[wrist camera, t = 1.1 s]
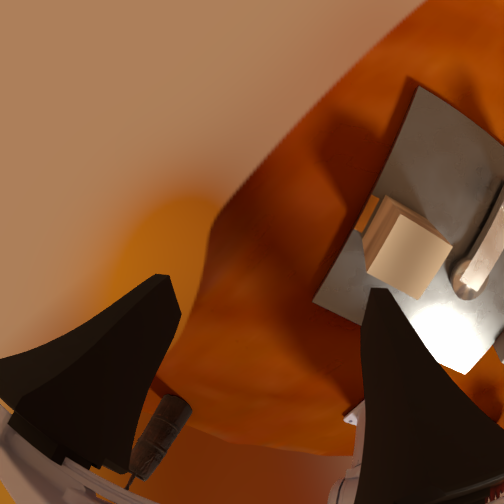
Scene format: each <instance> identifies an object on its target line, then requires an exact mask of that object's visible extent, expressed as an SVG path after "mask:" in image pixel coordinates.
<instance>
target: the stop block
mask: <svg viewBox="0 0 504 504" xmlns="http://www.w3.org/2000/svg"><path fill="white" fill-rule="evenodd" d="M362 243H363V249H364V257H365V265H366V273H368V274H370V275H372V276H374V277H376V278H377V279H379V280H381V281H383V282H385V283H387V284H389V285H391V286H392V287H394V288H396V289H398V290H400V291H402V292H404V293H405V294H407V295H409V296H411V297H413V298H415V299H416V300H419V298H420V297H421V295H422V294H423V293H424V291H425V290H426V288H427V287H428V285H429V284H430V282H431V281H432V279H433V278H434V276H435V275H436V273H437V272H438V270H439V269H440V267H441V266H442V264H443V262H444V261H445V259H446V258H447V256H448V254H449V253H450V251H451V249H452V248H453V246H452V245H451V244H450V243H449V242H448V241H447V240H446V239H445V237H444V236H443V235H442V234H441V233H440V232H439V231H438V230H437V229H436V228H435V227H434V226H433V225H432V224H431V223H430V222H429V220H427V219H426V218H424V217H423V216H421V215H419V214H418V213H416V212H414V211H413V210H411V209H409V208H408V207H406V206H404V205H403V204H401V203H399V202H398V201H396V200H394V199H392V198H391V197H389V196H387V195H385V197H384V199H383V201H382V203H381V205H380V207H379V209H378V211H377V213H376V215H375V217H374V219H373V220H372V222H371V224H370V226H369V228H368V230H367V232H366V233H365V235H364V237H363V239H362Z"/></svg>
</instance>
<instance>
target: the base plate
mask: <svg viewBox="0 0 504 504" xmlns="http://www.w3.org/2000/svg"><path fill="white" fill-rule="evenodd" d="M503 185H504V147H503V146H502V145H501V144H500V143H499V142H498V141H496V140H495V139H494V138H493V137H492V136H490V135H489V134H488V133H487V132H486V131H484V130H483V129H482V128H481V127H479V126H478V125H477V124H475V123H474V122H473V121H471V120H470V119H469V118H467V117H466V116H465V115H463V114H462V113H461V112H459V111H458V110H456V109H455V108H453V107H452V106H450V105H449V104H447V103H446V102H444V101H443V100H441V99H440V98H438V97H437V96H435V95H433V94H432V93H430V92H429V91H427V90H425V89H424V88H422V87H420V86H418V87H417V88H416V89H415V92H414V94H413V97H412V99H411V102H410V104H409V107H408V109H407V112H406V114H405V117H404V119H403V122H402V124H401V126H400V129H399V131H398V133H397V136H396V138H395V140H394V142H393V145H392V147H391V149H390V151H389V154H388V156H387V158H386V160H385V162H384V165H383V167H382V169H381V171H380V173H379V175H378V177H377V179H376V181H375V184H374V186H373V188H372V190H371V192H370V194H369V196H368V198H367V200H366V202H365V204H364V206H363V208H362V210H361V212H360V214H359V216H358V217H357V219H356V221H355V223H354V225H353V227H352V229H351V231H350V233H349V235H348V236H347V238H346V240H345V242H344V244H343V246H342V247H341V249H340V251H339V253H338V255H337V256H336V258H335V260H334V262H333V264H332V265H331V267H330V269H329V271H328V272H327V274H326V276H325V278H324V279H323V281H322V283H321V284H320V286H319V288H318V289H317V291H316V293H315V295H314V296H313V300H312V302H313V303H315V304H317V305H319V306H321V307H324V308H326V309H328V310H330V311H332V312H334V313H336V314H338V315H340V316H342V317H344V318H346V319H348V320H350V321H352V322H354V323H356V324H358V325H360V326H362V322H363V318H364V314H365V310H366V306H367V302H368V297H369V293H370V288H388V289H389V291H390V292H391V294H392V295H393V297H394V298H395V300H396V301H397V303H398V305H399V306H400V308H401V309H402V311H403V312H404V314H405V316H406V317H407V319H408V320H409V322H410V323H411V325H412V326H413V328H414V329H415V331H416V332H417V334H418V335H419V337H420V338H421V340H422V341H423V342H424V344H425V345H426V347H427V348H428V349H429V351H430V352H431V354H432V355H433V356H434V358H435V359H436V360H437V362H439V363H441V364H443V365H445V366H448V367H450V368H452V369H454V370H456V371H459V372H461V373H463V374H466V373H467V372H468V371H469V370H470V369H471V368H472V367H473V366H474V365H475V364H476V362H477V361H478V360H479V359H480V358H481V357H482V356H483V355H484V354H485V352H486V351H487V350H488V349H489V348H490V347H491V345H492V344H493V343H494V342H495V341H496V339H497V338H498V337H499V336H500V334H501V333H502V332H503V331H504V249H503V251H502V253H501V255H500V256H499V258H498V260H497V261H496V263H495V265H494V266H493V268H492V270H491V271H490V273H489V280H488V284H487V286H486V288H485V290H484V291H483V292H482V293H481V294H480V295H479V296H478V297H477V298H475V299H472V300H462V299H460V298H458V297H457V295H456V294H455V292H454V290H453V289H452V287H451V283H450V276H451V272H452V270H453V268H454V266H455V265H456V263H457V262H458V261H459V260H461V259H462V258H464V257H467V256H468V254H469V252H470V251H471V249H472V247H473V246H474V244H475V242H476V240H477V238H478V237H479V235H480V233H481V231H482V229H483V227H484V225H485V224H486V222H487V220H488V218H489V216H490V214H491V212H492V210H493V208H494V205H495V203H496V201H497V199H498V197H499V195H500V192H501V190H502V188H503ZM385 195H387V196H389V197H391V198H392V199H394V200H396V201H398V202H399V203H401V204H403V205H404V206H406V207H408V208H409V209H411V210H413V211H414V212H416V213H418V214H419V215H421V216H423V217H424V218H426V219H427V220H429V222H430V223H431V224H432V225H433V226H434V227H435V228H436V229H437V230H438V231H439V232H440V233H441V234H442V235H443V236H444V237H445V239H446V240H447V241H448V242H449V243H450V244H451V245H452V246H453V248H452V249H451V251H450V253H449V254H448V256H447V258H446V259H445V261H444V262H443V264H442V266H441V267H440V269H439V270H438V272H437V273H436V275H435V276H434V278H433V279H432V281H431V282H430V284H429V285H428V287H427V288H426V290H425V291H424V293H423V294H422V295H421V297H420V298H419V300H416V299H415V298H413V297H411V296H409V295H407V294H405V293H404V292H402V291H400V290H398V289H396V288H394V287H392V286H391V285H389V284H387V283H385V282H383V281H381V280H379V279H377V278H376V277H374V276H372V275H370V274H368V273H366V265H365V257H364V249H363V243H362V239H363V237H364V235H365V233H366V232H367V230H368V228H369V226H370V224H371V222H372V220H373V219H374V217H375V215H376V213H377V211H378V209H379V207H380V205H381V203H382V201H383V199H384V197H385Z"/></svg>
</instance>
